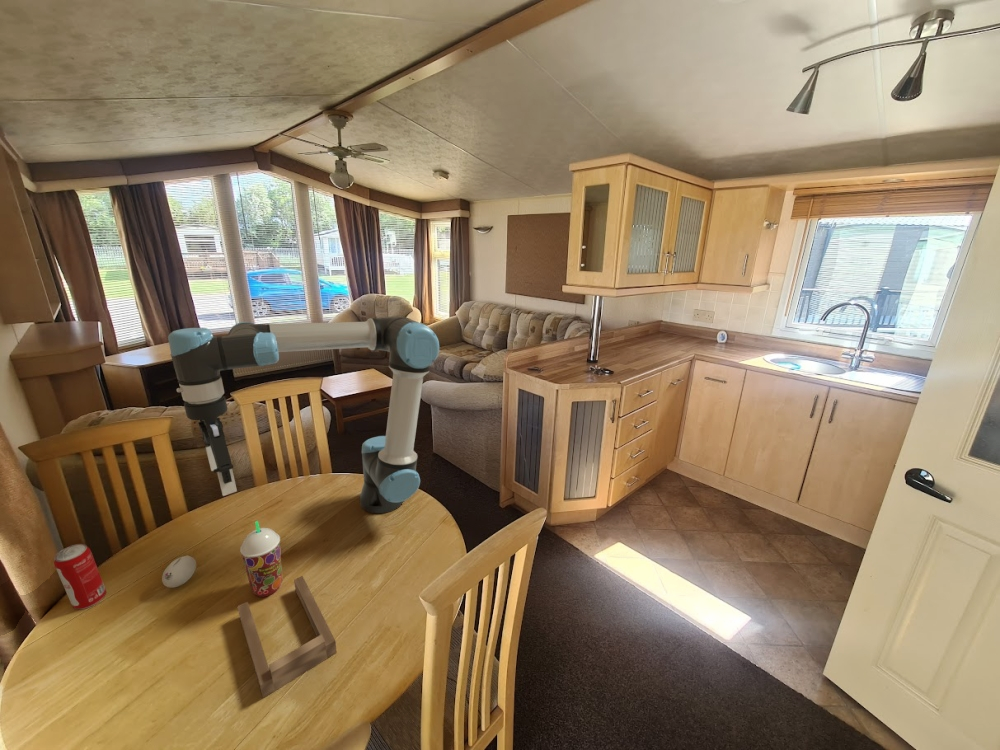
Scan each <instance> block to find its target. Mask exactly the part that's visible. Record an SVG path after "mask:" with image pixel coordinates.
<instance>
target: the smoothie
mask: <svg viewBox="0 0 1000 750" xmlns="http://www.w3.org/2000/svg"><path fill="white" fill-rule="evenodd" d="M254 523H255V529H254V530H251V532H249V533H248V534H247V536H245V538H244V539H243V542H242V544H241V545H240V549H239V551H240V554H241V558H242V561H243V564H244V568H245V571H246V575H247V578H248V581H249V585H250V588H251V591H252V593H253V594H255V596H257V597H260V598H262V597H263V598H264V597H268V596H270V595H273V594H274V593H275V592H277V591H278V590H279V589H280V587H281V584H282V582H283V577H284V576H283V566H282V565H283V563H282V551H281V550H282V548H281V535H279V534H278V533H276V531H274V530H273V529H271V528H270V527H260V524H259V521H258V520H256V521H255V522H254Z"/></svg>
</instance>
